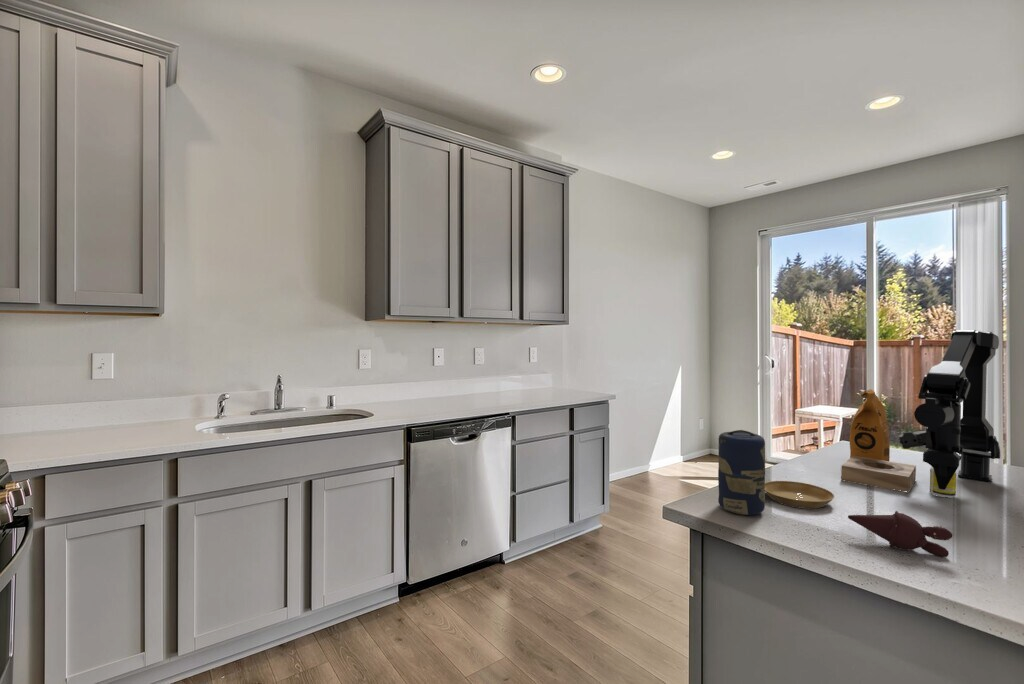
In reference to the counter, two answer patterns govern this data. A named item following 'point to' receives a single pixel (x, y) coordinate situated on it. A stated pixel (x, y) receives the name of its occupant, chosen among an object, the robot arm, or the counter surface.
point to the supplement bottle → (948, 492)
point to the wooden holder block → (879, 473)
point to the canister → (741, 472)
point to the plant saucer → (788, 493)
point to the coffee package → (870, 430)
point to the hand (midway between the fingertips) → (942, 486)
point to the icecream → (904, 532)
